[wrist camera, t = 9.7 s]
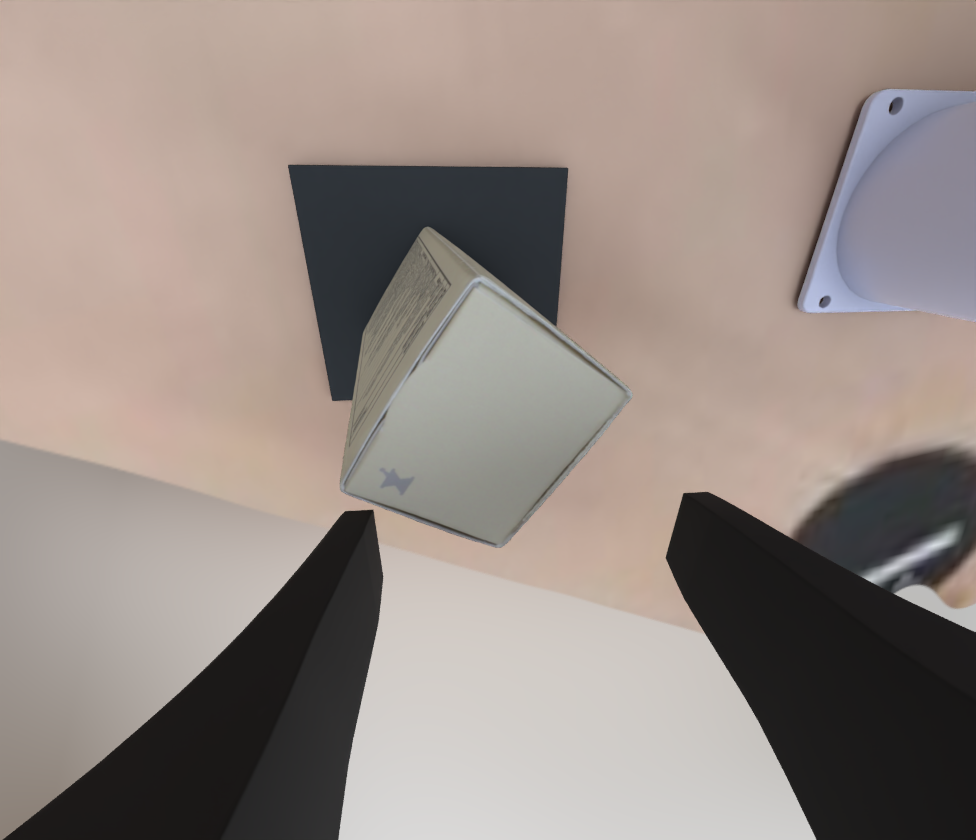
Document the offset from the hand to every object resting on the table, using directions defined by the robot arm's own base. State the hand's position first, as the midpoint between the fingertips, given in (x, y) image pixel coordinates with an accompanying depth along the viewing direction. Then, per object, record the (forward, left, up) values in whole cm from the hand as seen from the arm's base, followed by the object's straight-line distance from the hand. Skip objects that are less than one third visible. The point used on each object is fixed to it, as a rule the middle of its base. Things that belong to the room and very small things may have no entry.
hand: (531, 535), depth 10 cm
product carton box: (+2, -3, -10) cm, 11 cm away
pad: (+2, -4, -10) cm, 11 cm away
